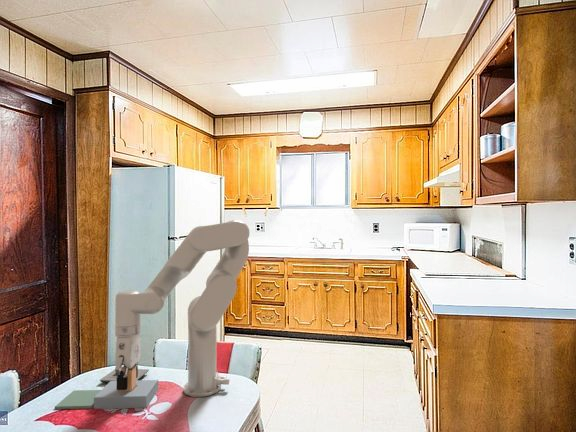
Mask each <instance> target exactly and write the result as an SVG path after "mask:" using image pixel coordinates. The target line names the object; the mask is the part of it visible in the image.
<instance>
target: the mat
mask: <svg viewBox="0 0 576 432" xmlns="http://www.w3.org/2000/svg"><path fill="white" fill-rule="evenodd" d="M101 390H102V389H85V390H84V389H83V390H80V389H79V390H72V391H71V392H70V393H69V394H68V395H66V396H65V397H64V398H63V399H62V400H61V401H59V402H58V403H57V404H55V406H54V410H71V409H72V410H75V409H79V410H80V409H93V408H94V397H95V396H96V395H97V394H98V393H99V392H100V391H101Z"/></svg>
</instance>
